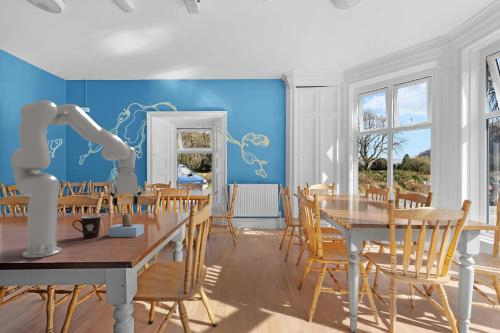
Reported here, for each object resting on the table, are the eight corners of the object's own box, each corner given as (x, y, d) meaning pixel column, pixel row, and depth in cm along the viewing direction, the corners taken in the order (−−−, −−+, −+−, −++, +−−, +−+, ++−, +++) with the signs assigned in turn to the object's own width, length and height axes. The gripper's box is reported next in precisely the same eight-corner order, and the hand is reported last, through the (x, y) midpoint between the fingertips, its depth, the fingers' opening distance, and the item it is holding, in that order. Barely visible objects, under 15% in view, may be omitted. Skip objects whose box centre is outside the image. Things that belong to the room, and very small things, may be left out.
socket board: (143, 233, 157) (143, 224, 157) (136, 236, 148) (136, 227, 148) (117, 232, 158) (117, 224, 158) (108, 236, 149) (108, 227, 149)
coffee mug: (104, 235, 151) (104, 215, 152) (94, 239, 143) (94, 218, 143) (82, 235, 153) (82, 215, 153) (71, 239, 144) (71, 218, 144)
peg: (132, 234, 153) (132, 215, 153) (123, 236, 150) (124, 215, 150) (129, 233, 156) (129, 214, 156) (121, 234, 153) (121, 215, 153)
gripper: (110, 170, 145) (109, 206, 144) (146, 171, 156) (145, 205, 155) (106, 171, 150) (104, 205, 150) (140, 172, 162) (139, 204, 161)
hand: (125, 205), depth 153 cm, fingers open, 9 cm apart
